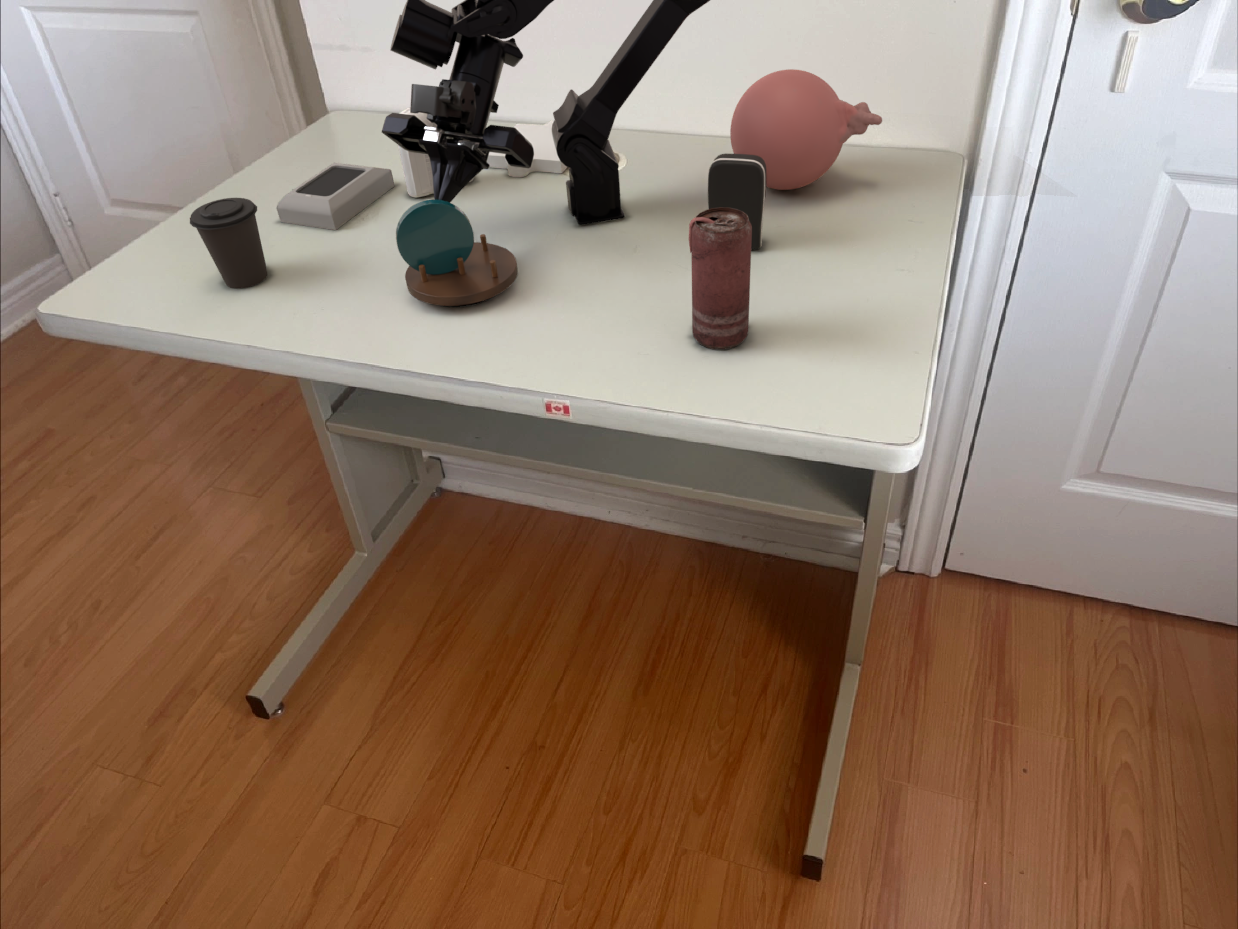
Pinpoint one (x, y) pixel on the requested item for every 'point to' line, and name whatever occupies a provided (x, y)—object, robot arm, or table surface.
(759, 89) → the round balloon
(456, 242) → the dish rack
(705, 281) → the worn red soda can
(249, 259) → the coffee cup
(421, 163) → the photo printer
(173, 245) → the table surface
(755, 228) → the black rounded block
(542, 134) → the mounting plate
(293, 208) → the grey flat block
